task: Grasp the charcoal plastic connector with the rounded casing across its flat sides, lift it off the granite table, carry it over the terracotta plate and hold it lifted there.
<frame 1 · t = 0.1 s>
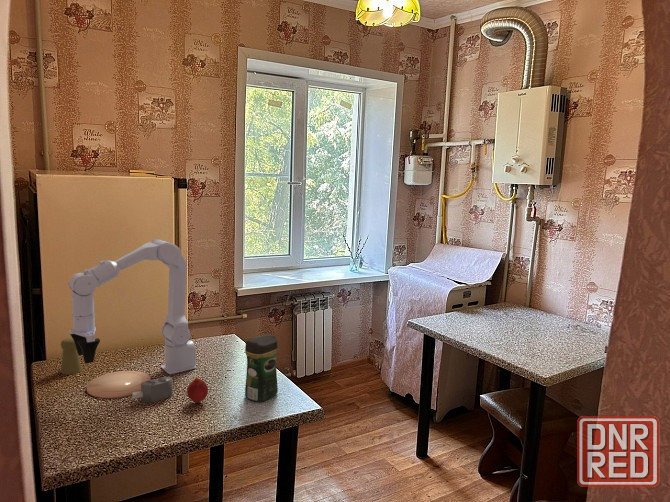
hand: (85, 358, 142), 10 cm above the table, tool pointing down, fingers open, 7 cm apart
cork: (71, 371, 157), on the table
plate: (119, 384, 148), on the table
coffee jar: (261, 396, 145), on the table
onion: (197, 403, 139), on the table
connector: (157, 397, 141), on the table
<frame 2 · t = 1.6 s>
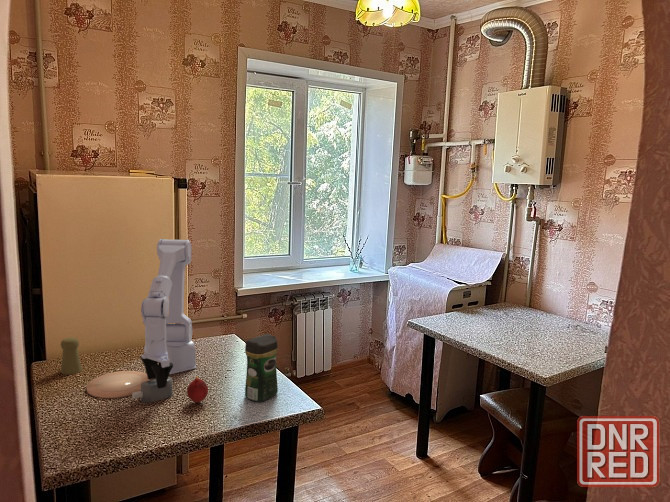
hand: (156, 382, 140), 5 cm above the table, tool pointing down, fingers open, 7 cm apart
nothing on the table moved.
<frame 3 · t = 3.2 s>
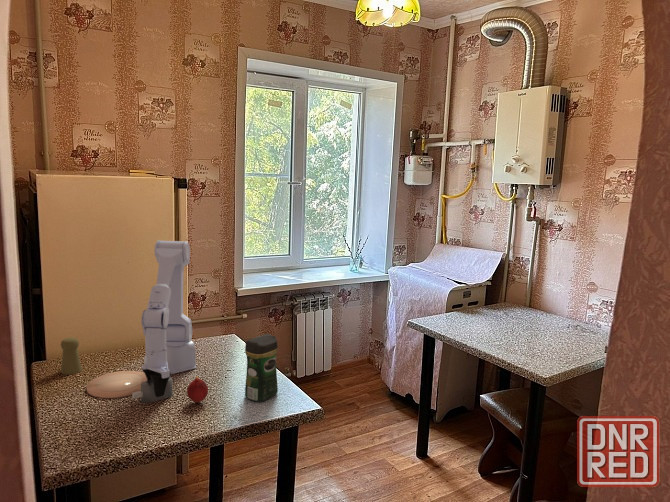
hand: (157, 393, 141), 1 cm above the table, tool pointing down, fingers closed on connector, 4 cm apart
connector: (157, 397, 141), on the table, touching gripper
everything else where it was.
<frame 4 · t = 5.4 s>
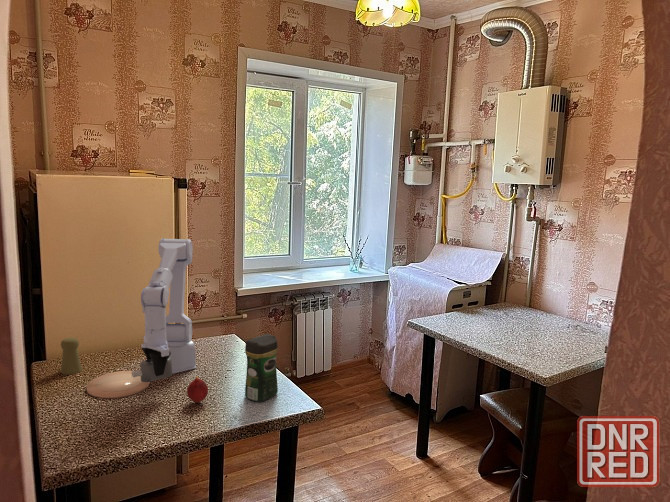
hand: (156, 372, 140), 8 cm above the table, tool pointing down, fingers closed on connector, 4 cm apart
connector: (156, 377, 140), point 6 cm above the table, touching gripper
everything else where it was.
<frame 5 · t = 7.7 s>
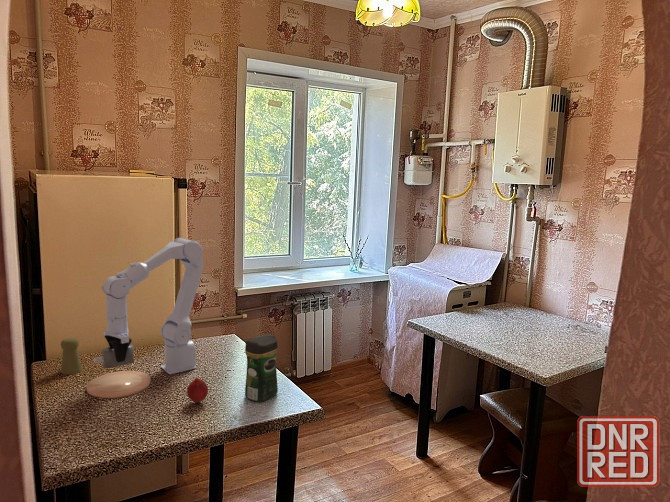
hand: (118, 359, 147), 8 cm above the table, tool pointing down, fingers closed on connector, 4 cm apart
connector: (118, 363, 147), point 7 cm above the table, touching gripper
everything else where it was.
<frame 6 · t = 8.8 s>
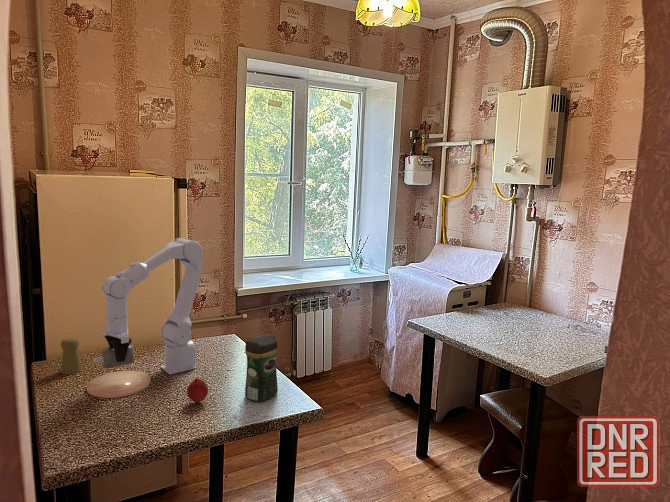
hand: (118, 359, 147), 8 cm above the table, tool pointing down, fingers closed on connector, 4 cm apart
connector: (118, 363, 147), point 7 cm above the table, touching gripper
everything else where it was.
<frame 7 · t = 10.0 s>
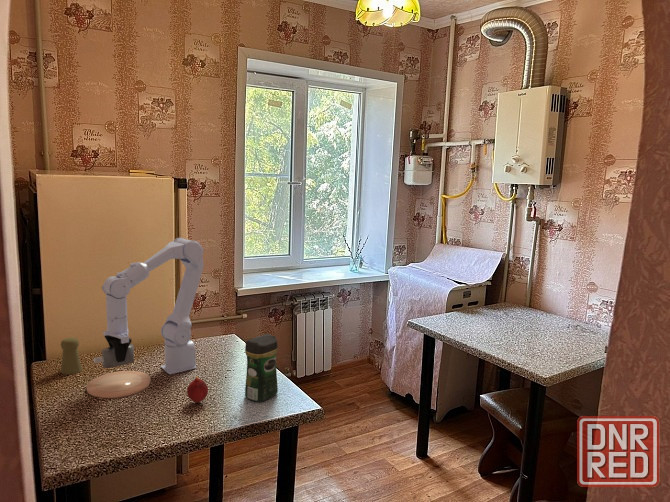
hand: (118, 359, 147), 8 cm above the table, tool pointing down, fingers closed on connector, 4 cm apart
connector: (118, 363, 147), point 7 cm above the table, touching gripper
everything else where it was.
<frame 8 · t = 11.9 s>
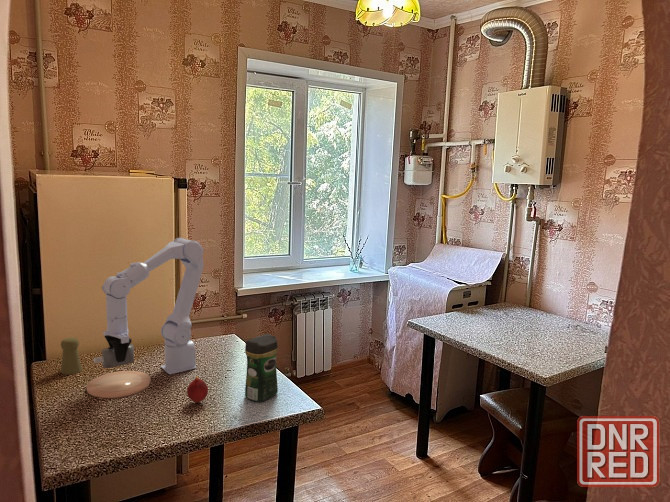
hand: (118, 359, 147), 8 cm above the table, tool pointing down, fingers closed on connector, 4 cm apart
connector: (118, 363, 147), point 7 cm above the table, touching gripper
everything else where it was.
at the end: the gripper is holding connector; connector point 7.0 cm above the table; connector 0.0 cm from the plate (horizontally) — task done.
